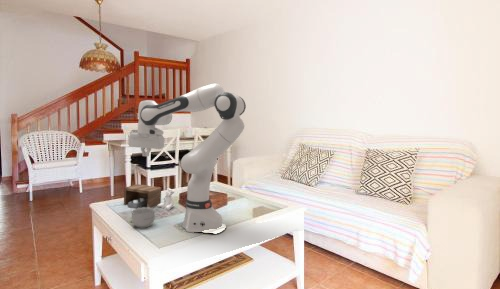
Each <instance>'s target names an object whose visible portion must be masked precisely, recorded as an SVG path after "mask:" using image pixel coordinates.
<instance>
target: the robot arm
mask: <svg viewBox="0 0 500 289" xmlns="http://www.w3.org/2000/svg"><path fill="white" fill-rule="evenodd" d="M138 104H139V105H138V110H137V111H138V112H137V117H138V123H137V129H132V130H131V131H129V137H128V146H129V147H132V148H140V151H141V154H142V157H149V156H150V152H151V151H152V149H155V150H162V149H164V147H165V137H164V130H162V129H159V128H157V127H156V126H167V125H170V124H171V122H172V119H173V114H174V113H178V112H179V113H180V112H190V113H197V112H202V111H206V110H208V109H210V108H215V110H216V112H217V113H218V115H219V117H220V119H222V121H221V122H220V123H219V124H218V126H217V127H216V128H215V129H214V130H213V131H212V132H211V133H210V134H209V135H208V136H207V137H206V139H204V140H203V141H201V142H200V143H198V144H197V145H196V146H195V147H194V148H193V149H192V150H190V151H189V152H188V153H186V154H184V155H183V157H182V158H181V160H180V166H181V168H182V170H183V171H184V172H185V173H187V174H191V177H190V179H189V180H188V182H187V191H186V192H187V193H186V199H185V214H184V219H183V222H182V228H183V229H184V230H185V232H188V233H194V232H202V231H204V230H209V229H217V228H219V227H221V226H222V223H223V216H222V214H221V213H219V212H218V210H216V209H215V208H214V207H213V206H212V205H213V203H214V201H213V200H212V201H211V200H210V190H211V188H210V186H211V182H212V176H213V172H214V169H215V166H216V165H217V162H218V158H219V157H220V156H221V155H223V154H224V153H226V151H227V150H228V149H229V148H230V147H231V146H232V145H233V144H234V143H235V142H236V140H238V138H240V135H241V134H242V133H243V131H244V130H245V123H244V120H243V119H242V118H241V115H243V114H244V113H245V110H246V107H247V106H246V102H245V100H244V98H242V97H241V96H239V95H238V94H235V93H231V92H228V91H227V92H226V91H225V90H224V87H223V86H222V85H221V84H219V83H215V82H214V83H211V84H207V85H204V86H200V87H198V88H195V89H194V90H190V92H187V93H185V94H182V95H180V96H178V97H174V98H172V99H170V100H167V101H164V102H160V103H157V102H156V101H155V100H153V99H143V100H141V101H140V102H139V103H138Z"/></svg>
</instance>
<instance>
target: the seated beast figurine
mask: <svg viewBox="0 0 500 289" xmlns="http://www.w3.org/2000/svg"><path fill="white" fill-rule="evenodd" d="M174 193H175V191H174V190H173V189H172V188H169V187H168V188H167V189H166V191H165V196H164V198H163V202H161V203H160V204H158V205H157V206H156V207H157V209H165V211H166V212H167V211H169V210H171V209H172V208H174V206H175V202H174V200H173V197H172V195H173V194H174Z"/></svg>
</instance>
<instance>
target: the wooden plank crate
mask: <svg viewBox="0 0 500 289" xmlns="http://www.w3.org/2000/svg"><path fill="white" fill-rule="evenodd" d="M123 189H124V190H123V192H124V193H123V205H124V206H125V205H128V202H131V201H133V200H136V199H139V198H145V199H148V200H147V205H146V208H147V207H150V208H155V207H157V205H158V204H160V203H162V201H161V200H162V187H160V186H153V185H146V184H139V183H136V184H134V185H128V186H126V187H125V186H124V188H123Z"/></svg>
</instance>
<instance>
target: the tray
mask: <svg viewBox="0 0 500 289" xmlns="http://www.w3.org/2000/svg"><path fill="white" fill-rule="evenodd" d="M147 200H148V199H145V198H139V199H136V200H133V201H131V202H128V204H127V208H130V209H134V210H135V209H138V208H143V207H145V206H147Z"/></svg>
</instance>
